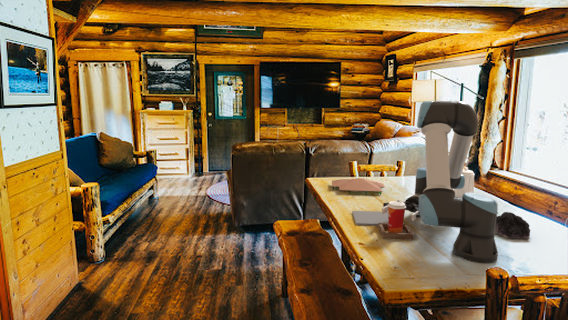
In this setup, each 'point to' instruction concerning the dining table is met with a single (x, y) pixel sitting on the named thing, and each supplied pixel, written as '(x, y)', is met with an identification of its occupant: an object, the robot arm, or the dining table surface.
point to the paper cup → (396, 216)
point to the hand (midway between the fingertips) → (397, 214)
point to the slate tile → (370, 217)
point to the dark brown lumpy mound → (512, 226)
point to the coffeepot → (466, 183)
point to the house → (358, 185)
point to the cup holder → (399, 236)
